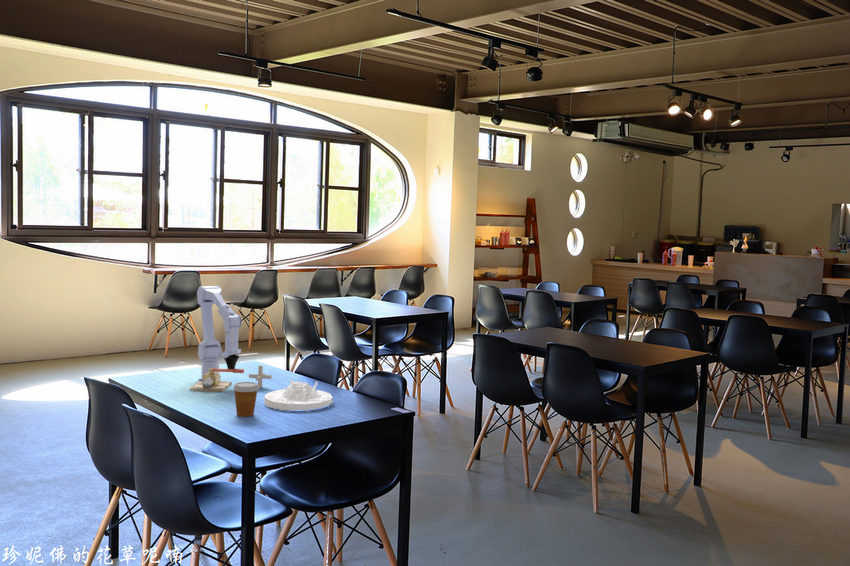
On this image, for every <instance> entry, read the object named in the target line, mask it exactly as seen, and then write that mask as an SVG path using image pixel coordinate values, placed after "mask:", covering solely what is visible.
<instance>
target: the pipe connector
mask: <svg viewBox="0 0 850 566" xmlns="http://www.w3.org/2000/svg"><path fill="white" fill-rule="evenodd" d="M263 367H264V365H261V364H260V365H258V368H257V370H258V372H257V373H256V374H255V373H249V375H248V378H249V379H255V381H257V384H258V387H259V388H258V389H261V388H263V380H264V379H265V380H267V379H268V380H272V377H273V376H272V374H265V372H263Z"/></svg>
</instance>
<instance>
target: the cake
mask: <svg viewBox="0 0 850 566" xmlns="http://www.w3.org/2000/svg"><path fill="white" fill-rule="evenodd" d="M289 383H290V385H287V387H286V388H285V386H282V387H283V389H278V390H274V391H273V390H272V391H270V392H267V393H266V394H265V395H264V400H263V401H264V406H265V405H266V406H265V407H267V406H268V407H267V408H269V407H271V408H274V409H273V410H275V409H280V410H279V411H281V410H309V409H316V408H321V407H324V406H327V405H329V404H331V403H332V404H333V398H334V397H333V396H332V394H331V393H329V392H326V391H324V390H319V389H317V386H318V381H316V382H315V383H314V384H313V387H312V385H310V383H307V382H306V381H305V382H302V381H301V380H298V381H294V380H293V378H291V379H290V382H289ZM316 389H317V390H316ZM271 408H270V409H271Z"/></svg>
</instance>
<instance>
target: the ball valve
mask: <svg viewBox="0 0 850 566" xmlns="http://www.w3.org/2000/svg"><path fill="white" fill-rule="evenodd" d="M220 376H221V372H219V373H215V372H214V371H209V372H207V373H205V374H204V375H203V380H202V381H203V382H202V386H203V388H212V386H214V387H216V386H217V385H218V384H219V382H220V379H221V377H220Z"/></svg>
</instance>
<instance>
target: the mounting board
mask: <svg viewBox="0 0 850 566" xmlns="http://www.w3.org/2000/svg"><path fill="white" fill-rule="evenodd" d="M202 382H203V380H199V381H198V382H197V383H195V384H194V385H192V386H191V387H189V391H190V390H193V391H192V392H213V393H217V392H218V393H222V392H224V391H225V390H226V389H227V388H229V387H230V386H231V385H232V381H220V382H219V384H218V385H217V386H216V387H214V386H212V388H203V386H202Z"/></svg>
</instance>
